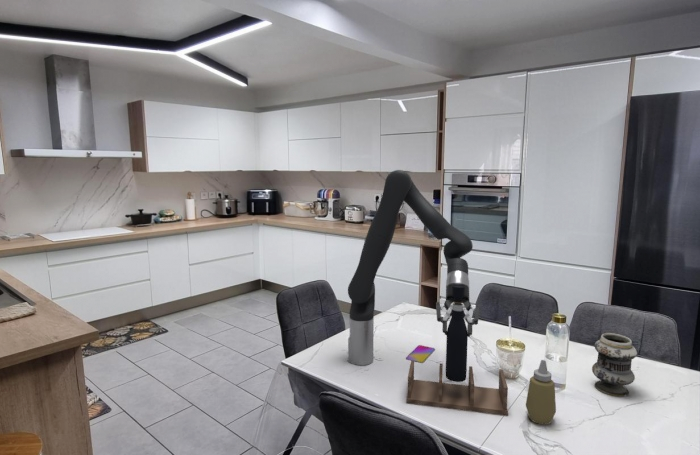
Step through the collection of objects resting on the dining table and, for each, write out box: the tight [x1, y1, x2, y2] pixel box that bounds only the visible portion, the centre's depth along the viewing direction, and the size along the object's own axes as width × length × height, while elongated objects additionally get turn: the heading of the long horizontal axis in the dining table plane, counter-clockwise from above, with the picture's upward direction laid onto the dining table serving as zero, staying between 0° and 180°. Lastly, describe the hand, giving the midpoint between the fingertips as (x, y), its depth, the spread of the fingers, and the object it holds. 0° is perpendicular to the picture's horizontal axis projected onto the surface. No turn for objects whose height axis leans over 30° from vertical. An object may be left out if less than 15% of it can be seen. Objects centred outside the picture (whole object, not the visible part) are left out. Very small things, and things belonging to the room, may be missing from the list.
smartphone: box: [405, 344, 436, 364], centre depth 165 cm, size 7×1×15 cm
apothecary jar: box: [591, 332, 638, 397], centre depth 136 cm, size 12×12×18 cm
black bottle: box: [445, 284, 469, 383], centre depth 129 cm, size 6×6×30 cm
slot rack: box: [405, 360, 509, 417], centre depth 131 cm, size 30×13×8 cm, turn 77°
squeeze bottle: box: [525, 359, 557, 425], centre depth 119 cm, size 8×8×18 cm
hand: (457, 334), depth 128 cm, fingers closed on black bottle, 6 cm apart
